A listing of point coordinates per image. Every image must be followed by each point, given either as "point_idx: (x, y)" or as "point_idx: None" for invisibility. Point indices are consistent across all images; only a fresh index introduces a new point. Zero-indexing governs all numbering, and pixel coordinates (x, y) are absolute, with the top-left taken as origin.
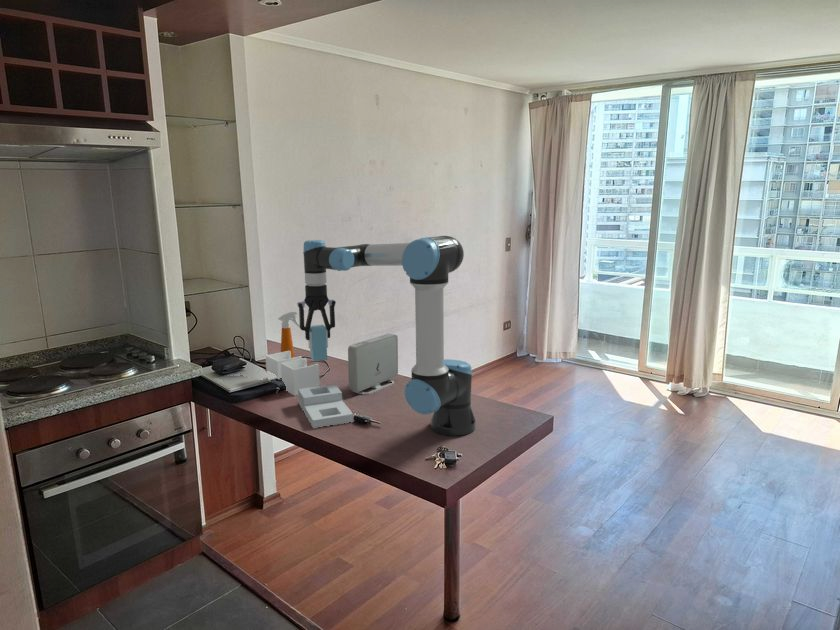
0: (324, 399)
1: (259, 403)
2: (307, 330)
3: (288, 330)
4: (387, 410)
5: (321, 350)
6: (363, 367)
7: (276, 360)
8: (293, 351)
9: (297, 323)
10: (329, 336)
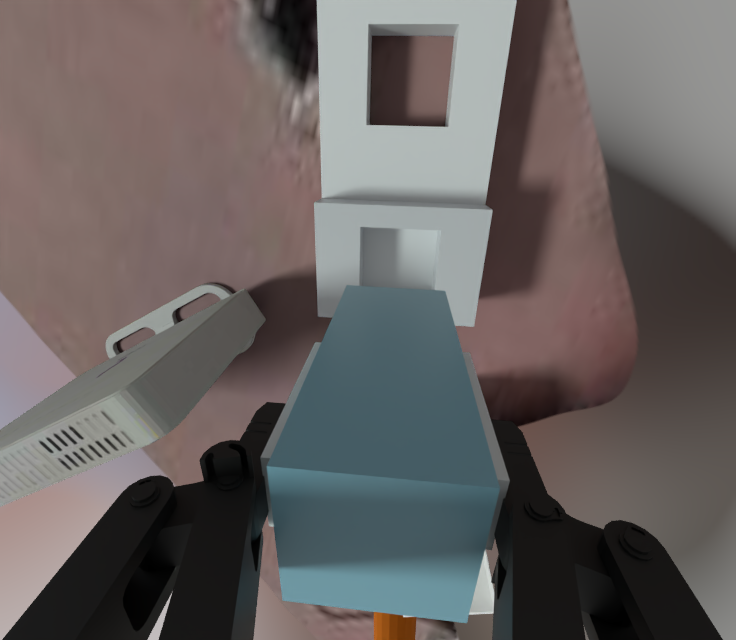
0: (397, 202)
1: (582, 366)
2: (549, 503)
3: None
4: (164, 85)
5: (380, 317)
6: (165, 343)
7: (484, 558)
8: (376, 624)
9: None
10: (265, 412)
